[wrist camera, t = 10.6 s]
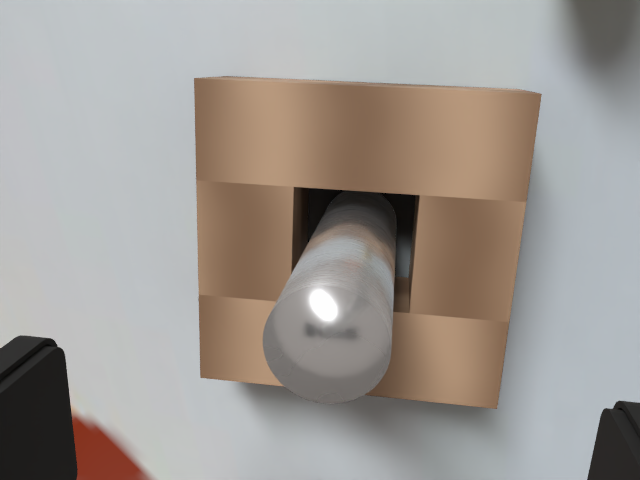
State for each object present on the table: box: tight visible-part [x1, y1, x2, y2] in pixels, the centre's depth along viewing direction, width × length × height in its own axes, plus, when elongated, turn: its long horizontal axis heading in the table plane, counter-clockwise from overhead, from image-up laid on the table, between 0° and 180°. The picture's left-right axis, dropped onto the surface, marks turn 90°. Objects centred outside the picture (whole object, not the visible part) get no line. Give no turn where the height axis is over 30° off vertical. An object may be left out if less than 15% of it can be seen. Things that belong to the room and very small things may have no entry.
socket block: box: [194, 76, 542, 409], centre depth 24 cm, size 12×12×4 cm
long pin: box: [263, 190, 397, 404], centre depth 20 cm, size 3×3×12 cm
